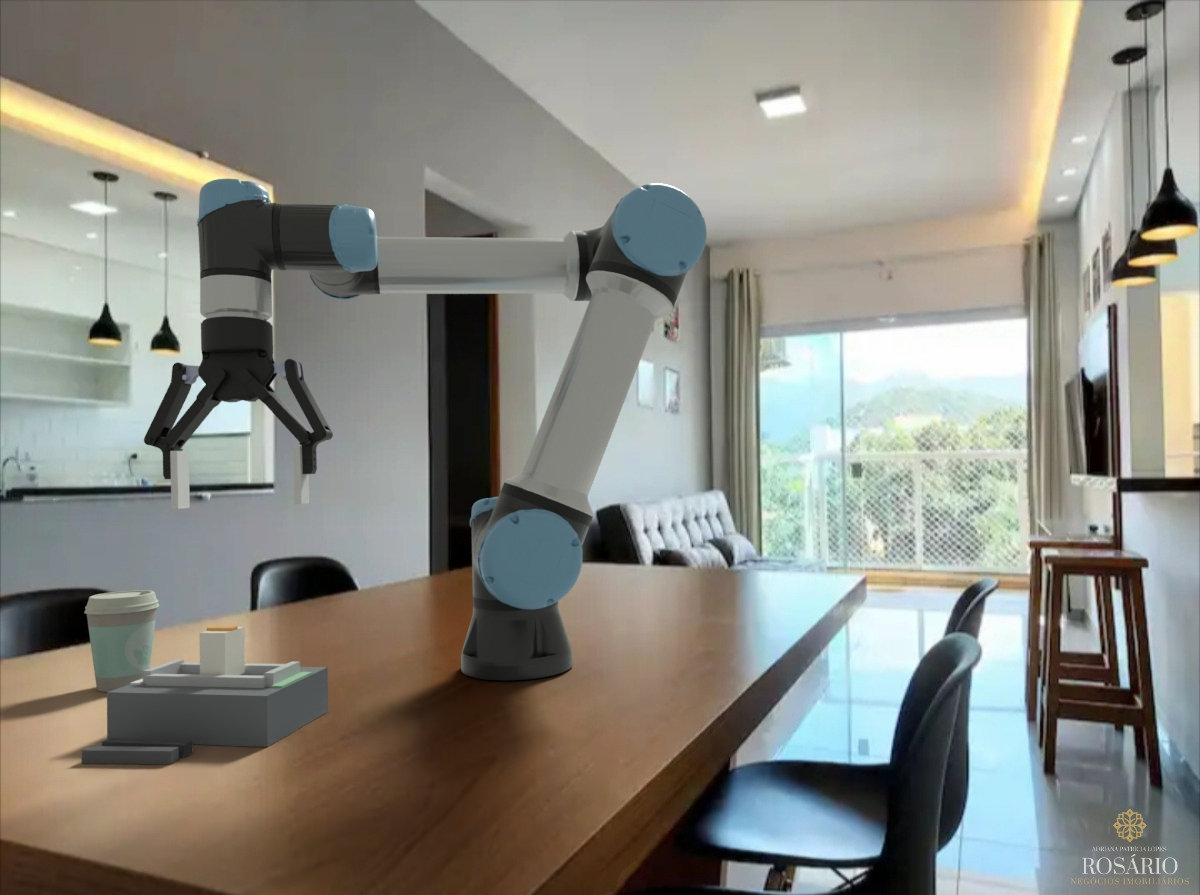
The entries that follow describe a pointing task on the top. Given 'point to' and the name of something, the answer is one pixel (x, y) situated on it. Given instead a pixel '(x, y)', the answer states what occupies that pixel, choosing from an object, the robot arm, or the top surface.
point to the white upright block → (222, 651)
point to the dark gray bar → (130, 755)
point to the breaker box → (218, 704)
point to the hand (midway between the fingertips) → (241, 506)
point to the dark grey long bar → (152, 744)
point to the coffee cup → (121, 636)
